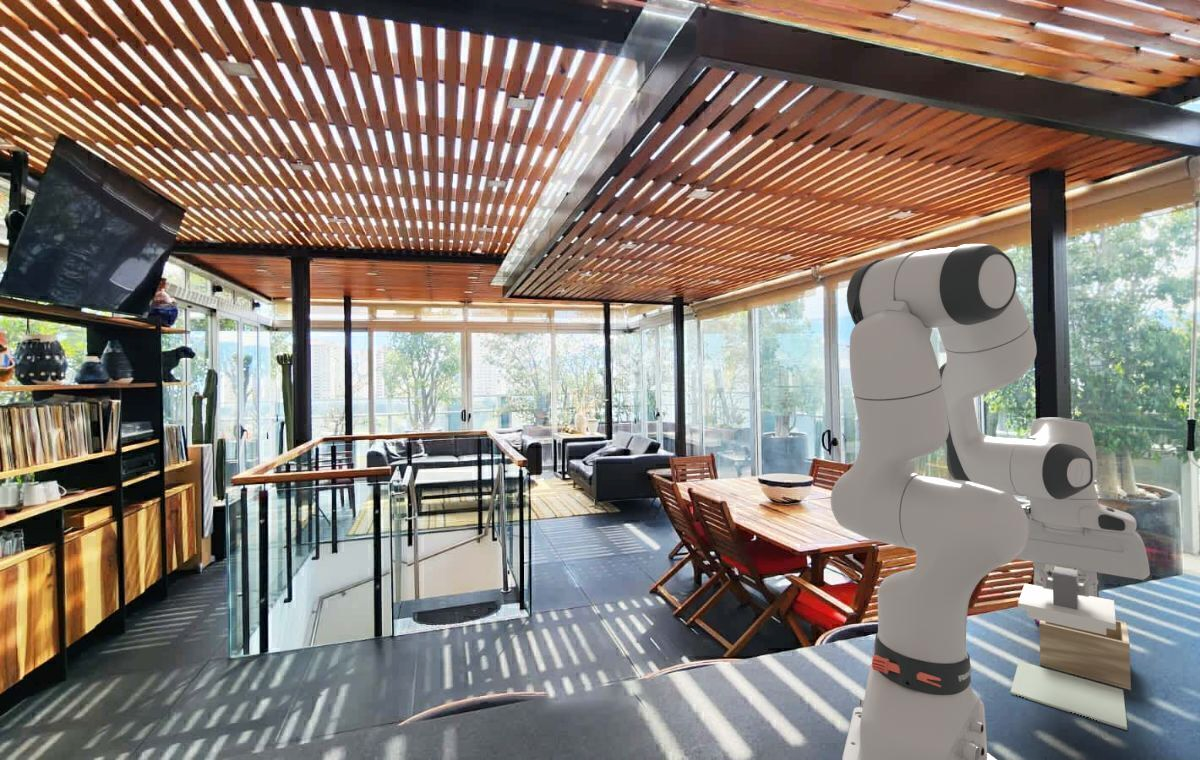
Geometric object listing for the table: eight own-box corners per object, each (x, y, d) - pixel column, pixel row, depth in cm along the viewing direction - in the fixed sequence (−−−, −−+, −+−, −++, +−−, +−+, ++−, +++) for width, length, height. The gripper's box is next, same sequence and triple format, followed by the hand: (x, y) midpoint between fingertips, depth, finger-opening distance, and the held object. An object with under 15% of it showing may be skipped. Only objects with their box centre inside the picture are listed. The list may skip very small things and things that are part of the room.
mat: (1127, 730, 79) (1127, 727, 79) (1010, 693, 89) (1010, 691, 89) (1123, 692, 89) (1123, 689, 89) (1018, 663, 99) (1018, 661, 99)
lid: (1116, 640, 81) (1114, 591, 81) (1018, 617, 90) (1016, 573, 90) (1114, 615, 90) (1113, 571, 90) (1025, 596, 98) (1023, 556, 98)
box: (1130, 691, 90) (1129, 644, 90) (1040, 666, 98) (1039, 623, 98) (1127, 664, 99) (1126, 622, 99) (1044, 644, 107) (1043, 604, 107)
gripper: (986, 505, 95) (988, 582, 94) (1149, 524, 81) (1152, 614, 80) (991, 500, 99) (993, 572, 99) (1146, 517, 85) (1148, 602, 85)
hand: (1065, 591), depth 90 cm, fingers closed on lid, 3 cm apart
